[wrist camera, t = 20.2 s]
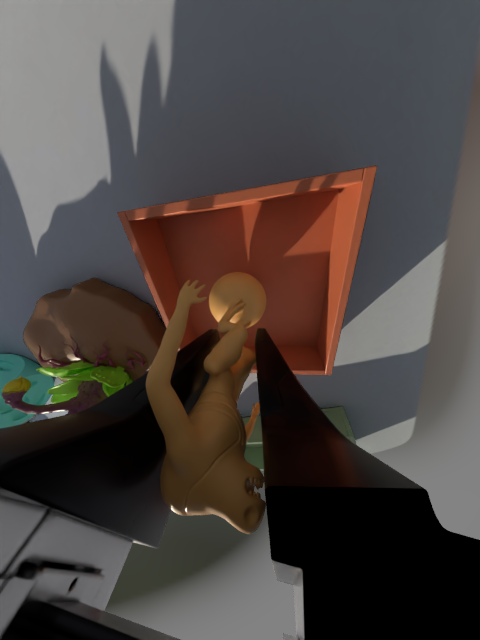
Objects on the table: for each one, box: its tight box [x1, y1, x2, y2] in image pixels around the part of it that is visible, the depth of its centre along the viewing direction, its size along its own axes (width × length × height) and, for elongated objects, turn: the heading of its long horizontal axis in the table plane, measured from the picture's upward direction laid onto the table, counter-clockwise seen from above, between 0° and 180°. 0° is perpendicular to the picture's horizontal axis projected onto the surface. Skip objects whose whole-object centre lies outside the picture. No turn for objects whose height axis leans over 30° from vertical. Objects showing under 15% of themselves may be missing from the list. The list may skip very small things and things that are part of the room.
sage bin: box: [242, 407, 356, 470], centre depth 25 cm, size 19×9×3 cm, turn 116°
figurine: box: [146, 272, 266, 534], centre depth 9 cm, size 8×6×12 cm
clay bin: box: [118, 165, 377, 375], centre depth 13 cm, size 13×13×3 cm
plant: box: [2, 278, 167, 415], centre depth 17 cm, size 20×20×11 cm
